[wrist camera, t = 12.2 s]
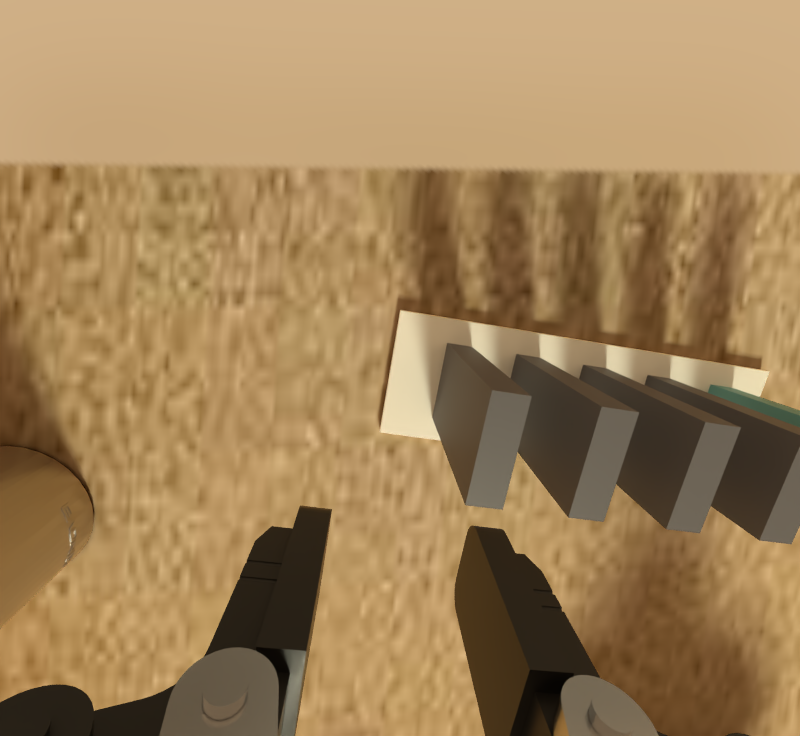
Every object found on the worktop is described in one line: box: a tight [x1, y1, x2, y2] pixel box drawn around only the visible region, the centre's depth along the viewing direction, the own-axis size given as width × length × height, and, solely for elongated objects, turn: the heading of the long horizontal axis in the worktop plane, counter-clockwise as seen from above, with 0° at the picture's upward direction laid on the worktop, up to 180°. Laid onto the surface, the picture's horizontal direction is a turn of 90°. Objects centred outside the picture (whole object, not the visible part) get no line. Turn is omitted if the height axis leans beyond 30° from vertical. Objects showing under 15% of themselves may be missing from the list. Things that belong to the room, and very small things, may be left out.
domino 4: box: [708, 384, 800, 427], centre depth 23 cm, size 2×5×10 cm, turn 170°
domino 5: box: [645, 375, 800, 544], centre depth 22 cm, size 2×5×10 cm, turn 170°
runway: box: [380, 310, 769, 440], centre depth 27 cm, size 25×8×1 cm, turn 80°
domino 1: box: [432, 343, 532, 510], centre depth 21 cm, size 2×5×10 cm, turn 170°
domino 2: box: [510, 354, 639, 522], centre depth 22 cm, size 2×5×10 cm, turn 170°
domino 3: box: [579, 365, 741, 533], centre depth 22 cm, size 2×5×10 cm, turn 170°
